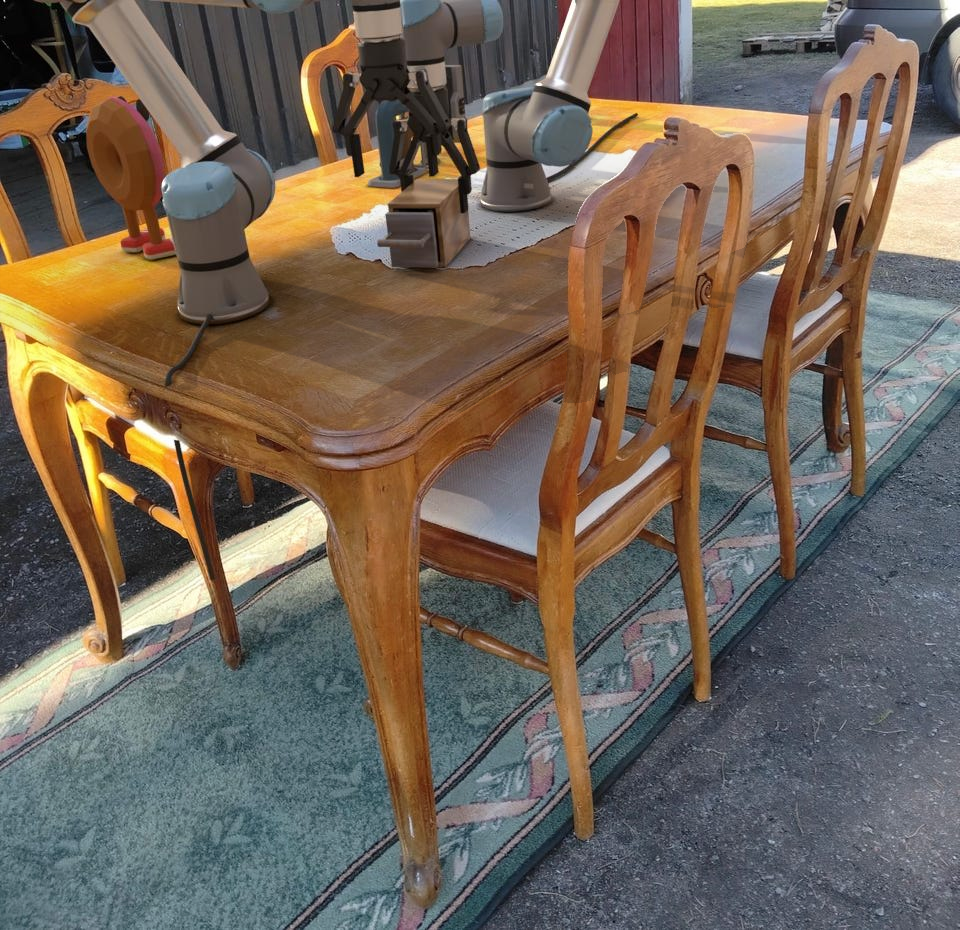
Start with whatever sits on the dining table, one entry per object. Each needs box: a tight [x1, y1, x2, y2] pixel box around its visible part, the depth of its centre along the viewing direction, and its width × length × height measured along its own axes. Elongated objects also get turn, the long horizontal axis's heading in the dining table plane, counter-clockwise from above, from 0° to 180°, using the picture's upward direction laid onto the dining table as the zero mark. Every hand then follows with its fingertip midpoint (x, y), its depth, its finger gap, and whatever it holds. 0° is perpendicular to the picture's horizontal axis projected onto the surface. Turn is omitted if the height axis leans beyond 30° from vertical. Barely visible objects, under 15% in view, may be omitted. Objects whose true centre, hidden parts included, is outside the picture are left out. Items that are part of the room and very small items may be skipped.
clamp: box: [367, 64, 467, 189], centre depth 236 cm, size 35×9×21 cm, turn 151°
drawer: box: [376, 208, 440, 269], centre depth 176 cm, size 21×9×10 cm, turn 164°
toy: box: [85, 95, 177, 261], centre depth 190 cm, size 21×10×30 cm, turn 47°
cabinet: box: [387, 178, 471, 268], centre depth 182 cm, size 16×10×12 cm, turn 164°
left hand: (396, 175), depth 163 cm, fingers open, 13 cm apart
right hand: (438, 210), depth 185 cm, fingers closed on cabinet, 10 cm apart
